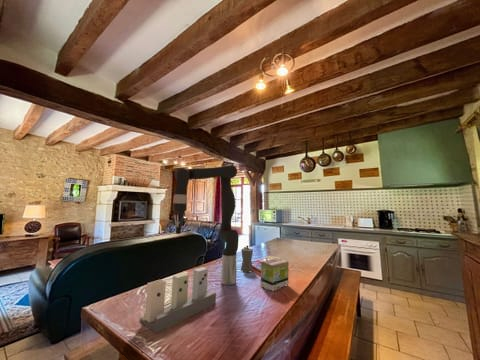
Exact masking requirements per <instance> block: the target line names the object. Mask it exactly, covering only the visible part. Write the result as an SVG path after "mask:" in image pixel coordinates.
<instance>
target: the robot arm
mask: <svg viewBox="0 0 480 360" xmlns="http://www.w3.org/2000/svg"><path fill="white" fill-rule="evenodd" d="M237 174H238V169H237V167H236V166H235V165H234V164H226V165H223V166H216V167H215V166H214V167H193V168H192V167H191V168H185V167H181V168H178V169H177V170H175V172H174V175H173V176H174V178H175V179H176V183H175V186H174V195H173V200H172V202H173V203H172V212H173V216H172V215H171V217H170V218H171V221H172V224H173V226H175V234H176V235H181V232H182V227H184V226H185V224H186V222H187V221H188V217H187V216H186V213H185V212H187V207H188V185H189V182H190V181H191V180H206V179H211V178H212V179H213V178H220V186H221V189H220V191H221V193H220V195H221V197H220V198H221V200H220V201H221V204H220V205H221V206H220V207H221V224H220V225H221V227H220V239H221V240H222V242H223V243H225V248H223V249H222V253H221V275H220V276H221V279H220V280H221V281H220V283H221V284H222V285H224V286H233V285H236V284H237V253H238V252H237V251H238V249H239V232H238V230H236V229H234V228H232V219H233V216H234V213H235V210H236V197H235V194H234V192H233V188H232V179H233V178H235V177H236V176H237Z"/></svg>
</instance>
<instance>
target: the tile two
mask: <svg viewBox="0 0 480 360" xmlns="http://www.w3.org/2000/svg"><path fill="white" fill-rule="evenodd" d="M189 275H190V274H188V273H186V272H182V273H181V272H180V273H177V274H174V275H172V285H171V301H170V305H171V308H172V309H175V308H177V307H179V306H182V305H184V304H186V303H187V299H188V298H189V296H188V295H189V294H188V293H189V277H190V276H189Z"/></svg>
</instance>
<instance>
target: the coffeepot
mask: <svg viewBox="0 0 480 360" xmlns="http://www.w3.org/2000/svg"><path fill="white" fill-rule="evenodd" d="M253 253H254V249H253V248H250V247H249V245H246V246H244V247H243V248H241V257H242V261H241V269H240V270H241V271H242V272H244V271H246V272H245V273H250V272H249V271H251V272H253V270H252V269H253V261H252V258H253Z"/></svg>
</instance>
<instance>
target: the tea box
mask: <svg viewBox="0 0 480 360" xmlns="http://www.w3.org/2000/svg"><path fill="white" fill-rule="evenodd" d="M260 265H261V266H260V271H261V272H260V287H261V288H263V287H264V289H265V288H266V289H265V290H268V289H269V290H268V291H270V290H272V291H273V292H275V291H277V289H278V290H280V289H282V288H281V287H283V286H285V285H288V286H289V261H287V260H284V259H281V258H280V259H277V258H276V259H272V260H267V261H266V260H263V261H261V263H260ZM279 288H280V289H279ZM283 288H284V287H283ZM274 290H275V291H274ZM272 291H271V292H272Z"/></svg>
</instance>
